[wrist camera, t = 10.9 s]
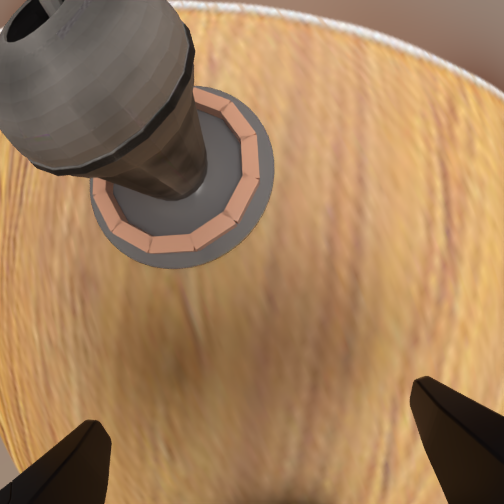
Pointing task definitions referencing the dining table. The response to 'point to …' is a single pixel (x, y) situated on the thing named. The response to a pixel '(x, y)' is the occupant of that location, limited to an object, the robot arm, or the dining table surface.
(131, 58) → the beverage cup
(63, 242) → the dining table surface
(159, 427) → the dining table surface
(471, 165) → the dining table surface
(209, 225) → the cup holder
